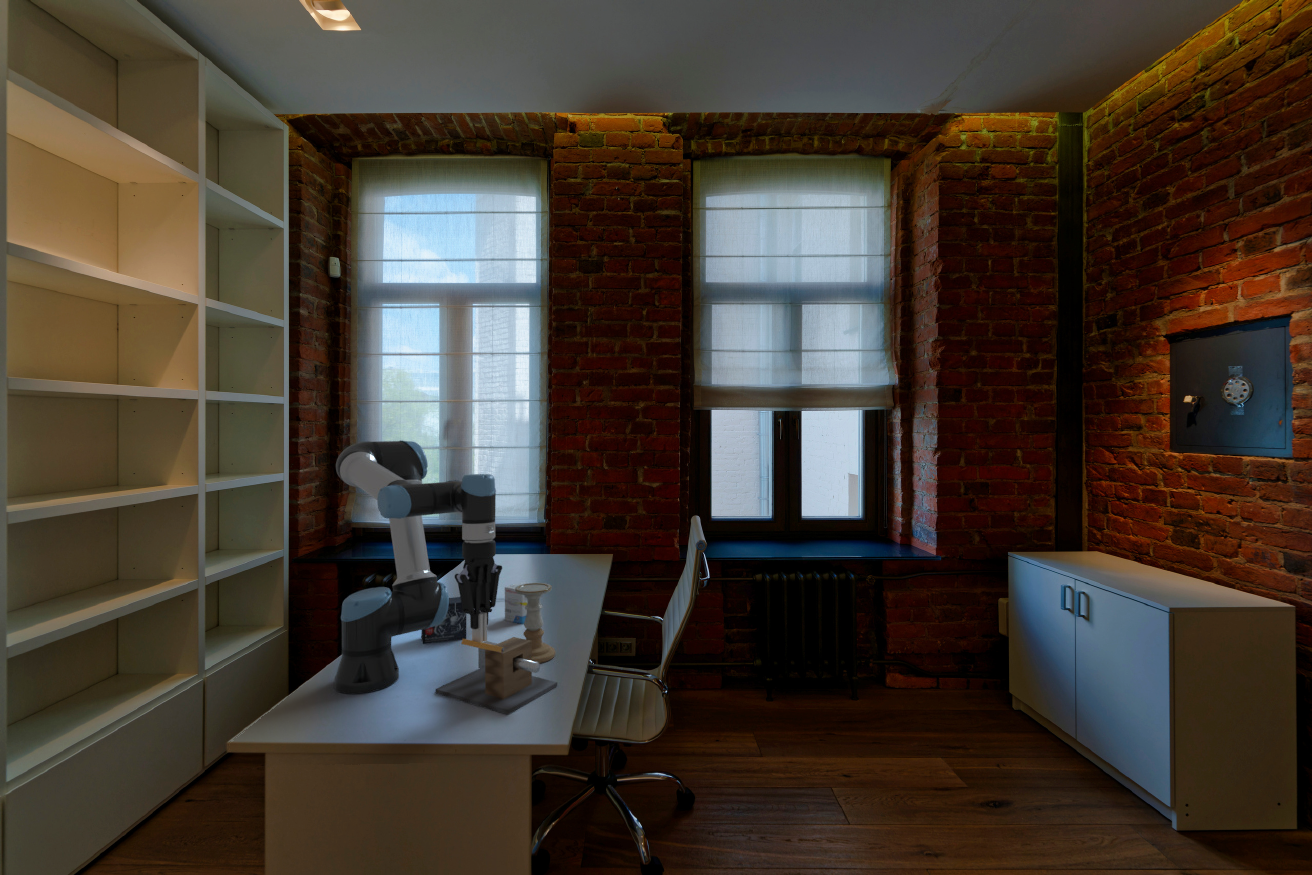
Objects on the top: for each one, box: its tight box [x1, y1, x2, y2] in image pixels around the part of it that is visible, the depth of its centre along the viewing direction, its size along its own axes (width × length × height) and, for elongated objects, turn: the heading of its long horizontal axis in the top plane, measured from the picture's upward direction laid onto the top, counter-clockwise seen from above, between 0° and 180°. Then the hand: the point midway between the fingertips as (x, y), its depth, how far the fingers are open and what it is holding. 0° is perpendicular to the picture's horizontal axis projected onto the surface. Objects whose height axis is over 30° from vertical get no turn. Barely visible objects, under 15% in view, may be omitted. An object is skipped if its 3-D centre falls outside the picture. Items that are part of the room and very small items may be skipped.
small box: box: [420, 596, 467, 645], centre depth 192 cm, size 13×7×12 cm, turn 114°
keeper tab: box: [461, 638, 504, 652], centre depth 145 cm, size 6×9×1 cm, turn 150°
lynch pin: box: [477, 640, 541, 674], centre depth 152 cm, size 18×5×6 cm, turn 60°
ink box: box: [504, 581, 528, 625], centre depth 212 cm, size 8×8×12 cm
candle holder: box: [515, 582, 556, 664], centre depth 177 cm, size 12×12×20 cm
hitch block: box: [434, 636, 558, 716], centre depth 154 cm, size 24×18×12 cm
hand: (479, 640), depth 143 cm, fingers closed
